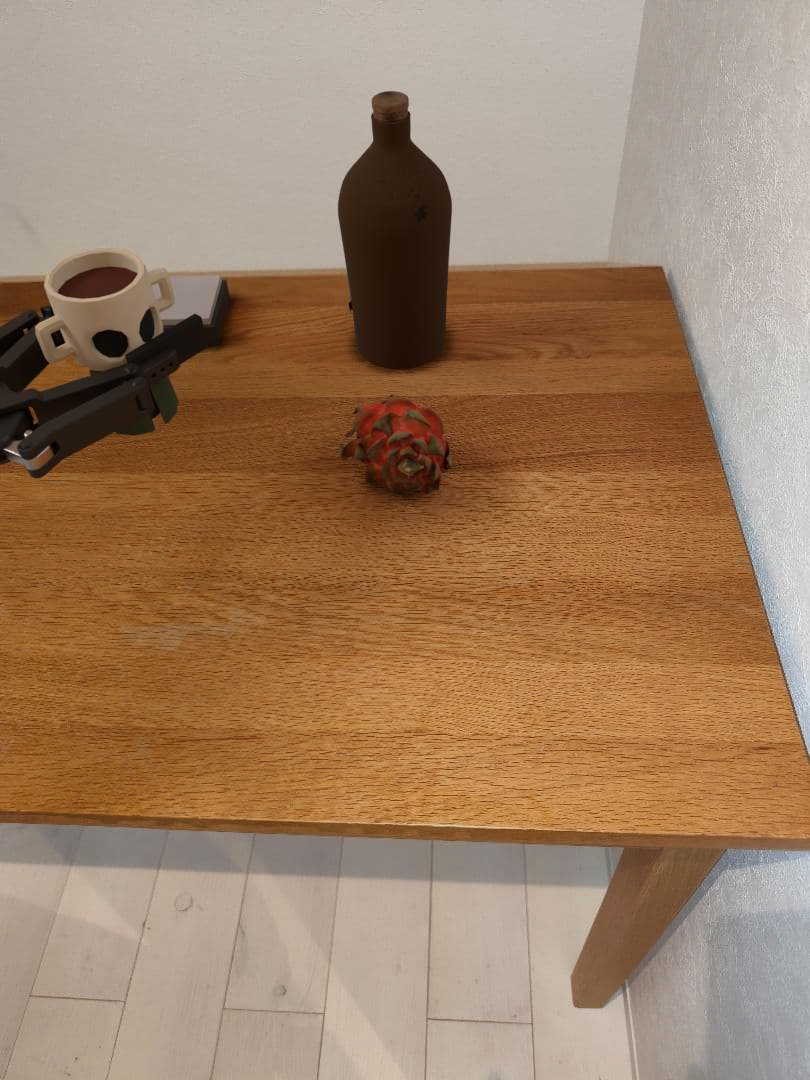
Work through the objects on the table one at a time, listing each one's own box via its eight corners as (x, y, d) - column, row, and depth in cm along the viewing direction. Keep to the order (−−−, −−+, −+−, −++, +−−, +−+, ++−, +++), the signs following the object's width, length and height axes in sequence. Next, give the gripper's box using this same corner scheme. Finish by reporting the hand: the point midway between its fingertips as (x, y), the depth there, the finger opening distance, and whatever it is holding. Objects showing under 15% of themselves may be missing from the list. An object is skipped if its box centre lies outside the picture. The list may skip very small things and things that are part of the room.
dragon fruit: (433, 534, 78) (364, 471, 86) (493, 457, 77) (419, 401, 85) (373, 496, 72) (306, 432, 80) (438, 412, 71) (363, 356, 79)
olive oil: (468, 329, 95) (474, 85, 77) (420, 385, 89) (413, 135, 71) (383, 303, 99) (368, 65, 80) (331, 355, 93) (303, 110, 75)
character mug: (105, 469, 68) (49, 327, 59) (59, 426, 72) (-1, 284, 62) (221, 404, 73) (187, 262, 63) (173, 366, 77) (134, 226, 67)
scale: (133, 350, 95) (125, 325, 93) (151, 299, 101) (144, 274, 99) (217, 349, 95) (211, 323, 92) (230, 298, 101) (225, 272, 99)
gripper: (-150, 448, 66) (104, 307, 77) (0, 583, 57) (264, 401, 68) (-205, 366, 60) (78, 226, 71) (-49, 501, 51) (248, 317, 62)
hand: (168, 311), depth 69 cm, fingers closed on character mug, 7 cm apart
